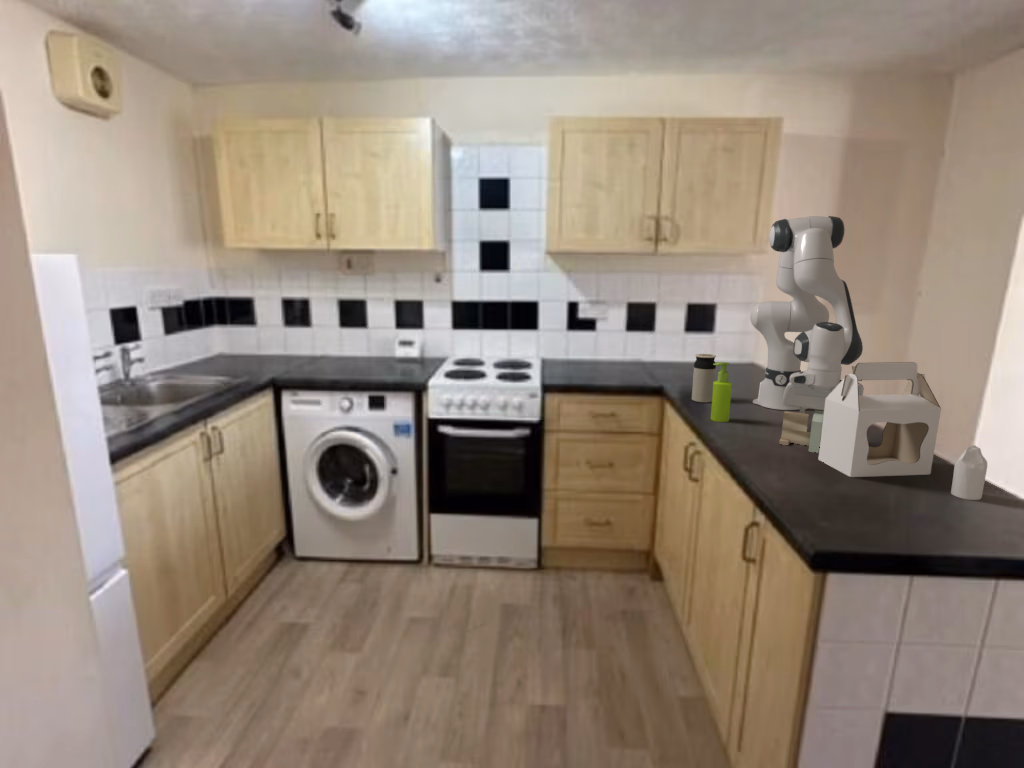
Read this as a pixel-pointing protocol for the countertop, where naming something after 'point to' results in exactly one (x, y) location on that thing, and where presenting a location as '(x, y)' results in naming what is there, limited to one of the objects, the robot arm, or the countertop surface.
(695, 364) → the travel mug
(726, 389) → the soap dispenser
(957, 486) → the white plastic bottle
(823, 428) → the gable box
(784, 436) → the wooden peg bench
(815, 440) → the grey-green rectangular slab
